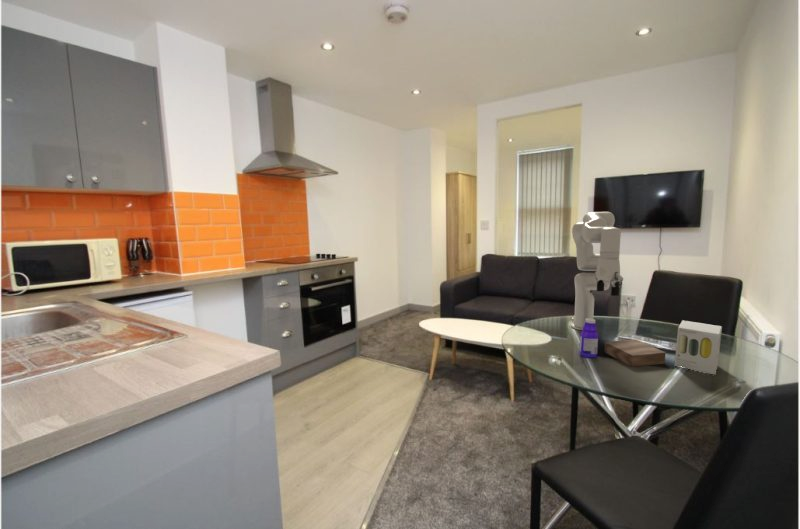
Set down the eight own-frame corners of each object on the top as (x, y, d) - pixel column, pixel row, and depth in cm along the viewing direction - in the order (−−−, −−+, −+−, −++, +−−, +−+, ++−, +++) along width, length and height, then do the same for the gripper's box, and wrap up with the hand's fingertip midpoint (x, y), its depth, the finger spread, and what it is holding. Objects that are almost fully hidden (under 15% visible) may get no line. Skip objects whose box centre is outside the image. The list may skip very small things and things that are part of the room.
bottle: (593, 353, 164) (595, 317, 161) (599, 358, 158) (601, 321, 155) (577, 353, 164) (579, 317, 162) (582, 358, 159) (584, 321, 156)
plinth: (604, 352, 165) (605, 342, 164) (634, 349, 167) (635, 339, 166) (631, 366, 149) (632, 355, 148) (664, 363, 151) (665, 352, 151)
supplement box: (673, 366, 148) (677, 326, 146) (678, 357, 157) (681, 319, 155) (715, 376, 139) (720, 334, 136) (718, 365, 148) (722, 325, 145)
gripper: (589, 253, 164) (587, 289, 166) (614, 258, 147) (612, 297, 149) (604, 253, 165) (602, 289, 167) (631, 257, 148) (629, 297, 150)
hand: (607, 293), depth 158 cm, fingers open, 9 cm apart
